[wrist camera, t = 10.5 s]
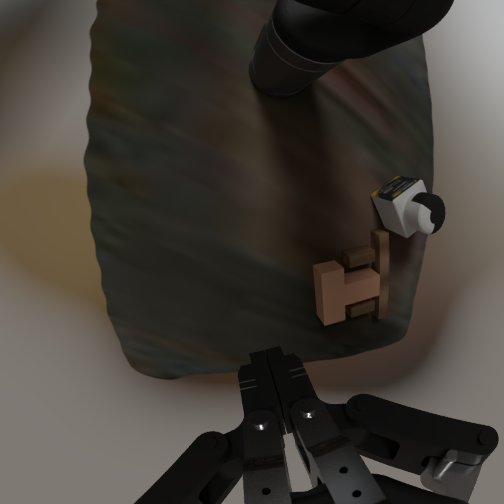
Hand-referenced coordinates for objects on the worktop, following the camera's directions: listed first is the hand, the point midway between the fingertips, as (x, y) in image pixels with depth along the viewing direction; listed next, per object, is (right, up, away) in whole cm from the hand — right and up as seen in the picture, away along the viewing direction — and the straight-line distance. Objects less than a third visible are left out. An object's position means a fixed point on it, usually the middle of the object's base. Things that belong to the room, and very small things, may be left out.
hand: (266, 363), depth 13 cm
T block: (+16, 0, +37) cm, 40 cm away
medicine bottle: (+24, +14, +33) cm, 43 cm away
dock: (+20, +1, +37) cm, 42 cm away
